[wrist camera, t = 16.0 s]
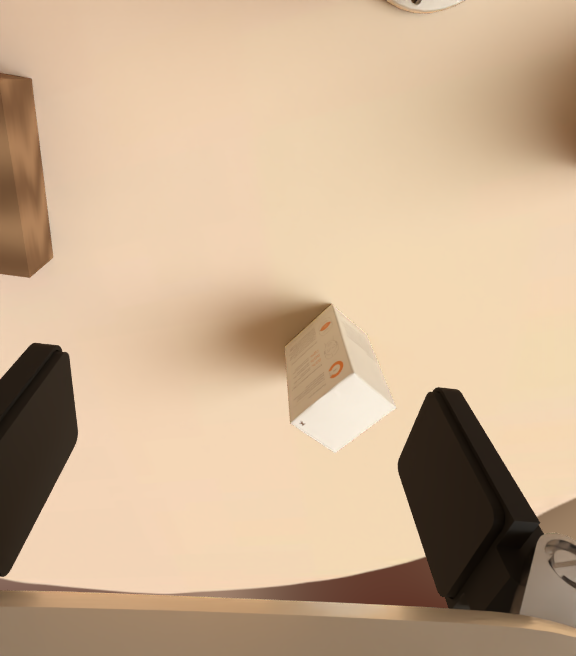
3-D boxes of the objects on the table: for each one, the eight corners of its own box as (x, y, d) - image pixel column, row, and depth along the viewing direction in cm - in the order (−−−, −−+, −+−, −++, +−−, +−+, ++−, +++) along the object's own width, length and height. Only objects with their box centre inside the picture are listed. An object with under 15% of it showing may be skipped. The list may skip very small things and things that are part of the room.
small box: (320, 374, 53) (334, 455, 41) (283, 346, 50) (287, 424, 39) (369, 333, 50) (398, 408, 39) (332, 301, 47) (352, 371, 36)
